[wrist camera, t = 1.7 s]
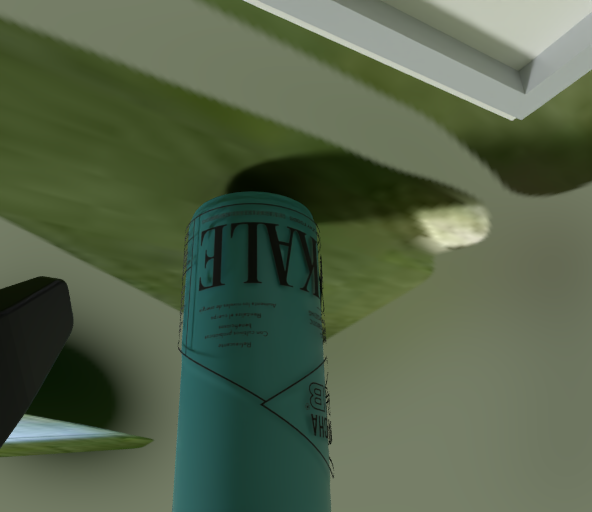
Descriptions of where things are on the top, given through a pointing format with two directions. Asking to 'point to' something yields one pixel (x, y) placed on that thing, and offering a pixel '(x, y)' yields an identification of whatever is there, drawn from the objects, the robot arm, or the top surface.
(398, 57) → the white square tray
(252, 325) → the beverage bottle
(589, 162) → the top surface
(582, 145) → the top surface
